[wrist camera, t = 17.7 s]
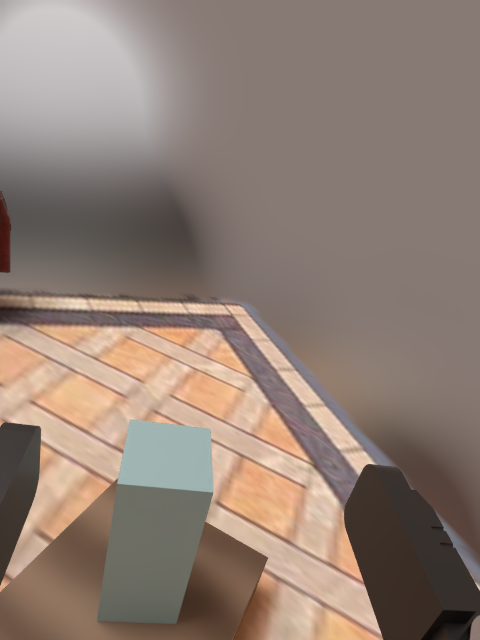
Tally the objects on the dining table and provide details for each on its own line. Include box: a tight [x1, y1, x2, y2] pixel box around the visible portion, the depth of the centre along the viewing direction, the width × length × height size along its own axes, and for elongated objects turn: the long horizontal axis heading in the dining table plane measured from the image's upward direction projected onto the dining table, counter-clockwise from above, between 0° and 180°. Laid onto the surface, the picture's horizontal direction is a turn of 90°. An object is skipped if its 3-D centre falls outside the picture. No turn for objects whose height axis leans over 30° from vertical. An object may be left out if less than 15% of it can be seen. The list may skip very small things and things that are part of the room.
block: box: [97, 420, 213, 624], centre depth 28 cm, size 5×5×12 cm
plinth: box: [0, 479, 268, 640], centre depth 31 cm, size 14×14×4 cm
